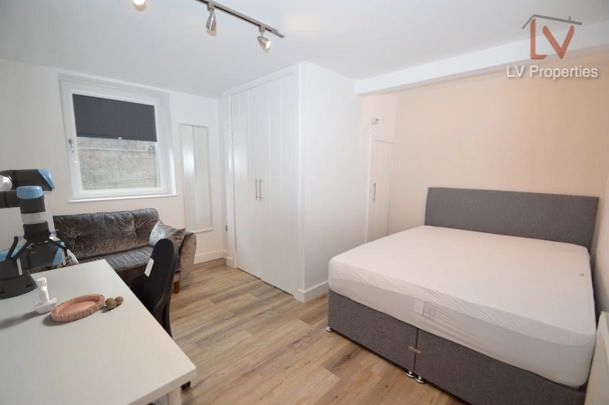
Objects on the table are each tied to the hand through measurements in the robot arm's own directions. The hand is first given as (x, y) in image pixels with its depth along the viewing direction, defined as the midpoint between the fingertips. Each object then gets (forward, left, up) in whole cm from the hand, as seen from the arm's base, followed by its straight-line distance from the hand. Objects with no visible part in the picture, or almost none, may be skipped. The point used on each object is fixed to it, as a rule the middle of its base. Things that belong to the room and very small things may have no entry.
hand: (43, 268), depth 113 cm
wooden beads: (+17, +20, -20) cm, 33 cm away
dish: (+9, +9, -20) cm, 24 cm away
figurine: (-3, -1, -20) cm, 20 cm away
